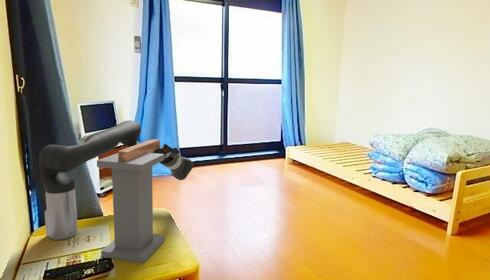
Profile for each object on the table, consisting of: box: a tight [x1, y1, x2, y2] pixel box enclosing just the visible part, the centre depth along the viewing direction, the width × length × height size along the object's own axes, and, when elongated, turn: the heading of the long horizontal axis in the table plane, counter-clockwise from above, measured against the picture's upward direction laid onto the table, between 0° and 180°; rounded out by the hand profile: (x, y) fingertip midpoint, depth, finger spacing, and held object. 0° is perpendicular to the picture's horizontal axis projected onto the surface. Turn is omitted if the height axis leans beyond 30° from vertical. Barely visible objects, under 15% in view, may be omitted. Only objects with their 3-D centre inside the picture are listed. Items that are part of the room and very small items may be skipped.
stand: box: [96, 152, 166, 264], centre depth 105 cm, size 15×15×32 cm
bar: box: [117, 138, 161, 161], centre depth 108 cm, size 3×22×3 cm, turn 169°
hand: (153, 145), depth 116 cm, fingers open, 8 cm apart
